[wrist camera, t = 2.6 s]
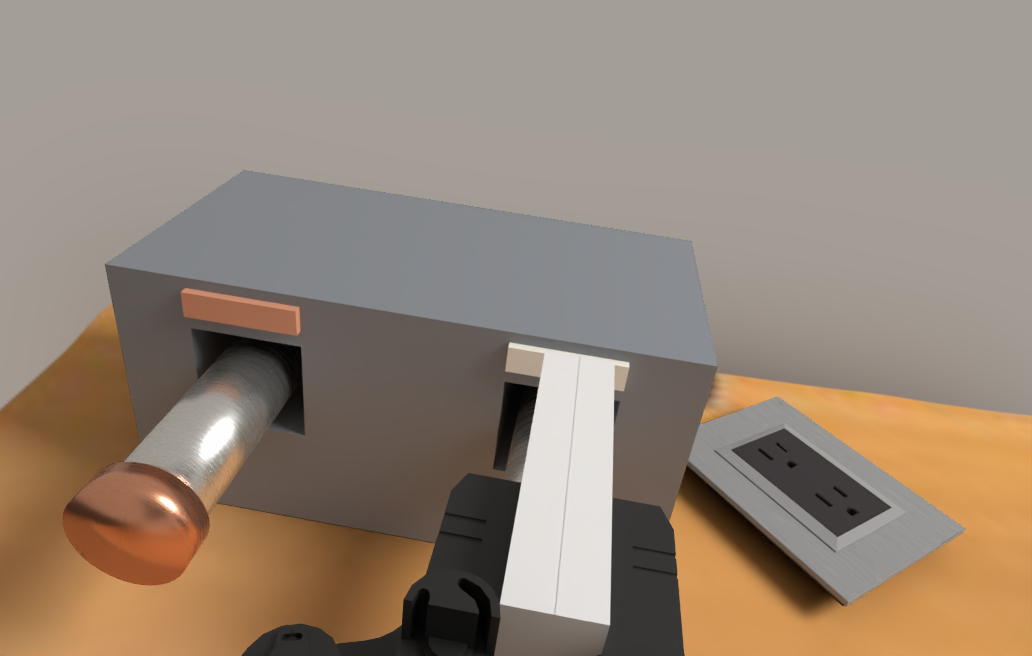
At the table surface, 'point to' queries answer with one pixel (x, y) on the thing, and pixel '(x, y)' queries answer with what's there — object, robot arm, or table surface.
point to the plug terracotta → (182, 467)
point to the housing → (411, 340)
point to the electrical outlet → (817, 498)
